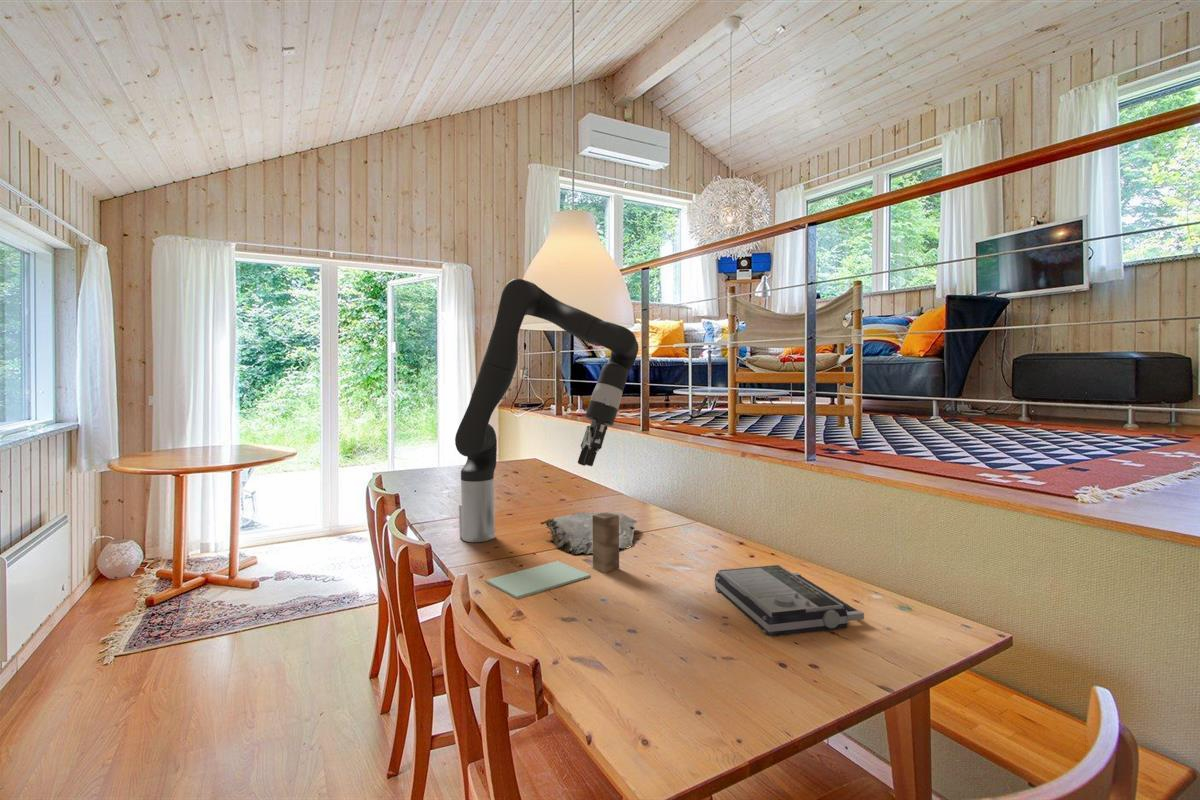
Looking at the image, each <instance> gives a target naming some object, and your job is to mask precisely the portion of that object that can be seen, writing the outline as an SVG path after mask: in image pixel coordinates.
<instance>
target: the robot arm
mask: <svg viewBox="0 0 1200 800" xmlns="http://www.w3.org/2000/svg"><path fill="white" fill-rule="evenodd" d="M500 295H501V296H500V299H499V305H498V309H497V313H496V318H495V323H494V327H493V330H492V333H491V335H490V339H489V341H488V345H487V348H486V351H485V354H484V357H483V358H482V359H483V360H482V363H481V366H480V369H479V371H478V375H477V379H476V382H475V384H474V387H473V390H472V393H471V396H470V399H469V400H470V401H469V403H468V405H467V408H466V410H465V413H464V415H463V417H462V419H461V421H460V424H459V426H458V429H457V430H456V434H455V439H454V441H455V442H454V444H455V447H456V450H457V451H458V453H459V454H460V455H461V456H463V457H466V462H465V464H464V466H463V468H461V469H460V491H461V493H460V494H461V498H460V499H461V500H460V502H461V503H460V504H459V506H458V513H459V515H458V519H459V521H458V522H459V523H458V524H459V526H458V527H459V539H462V540H463V541H464V542H468V543H481V542H488V541H492V540H493V539H495V538H496V532H495V531H496V530H495V529H496V528H495V527H496V525H495V524H496V523H495V522H496V521H495V520H496V519H495V480H494V479H495V470H496V467H497V450H498V449H497V446H498V445H497V444H498V443H497V442H498V441H497V439H498V438H497V435H496V431H495V429H494V427H493V426H492V425H491V424H490V419H491V417H492V415H493V412H494V411H495V409H496V407H497V406H498V405H499V403H500V402H501V400H502V399H503V398H504V396H505V394H506V393H507V392H508V389H509V387H510V386H511V384H512V381H513V378H514V375H515V373H516V369H517V364H518V360H519V359H518V357H519V353H518V352H519V350H518V349H519V347H518V345H519V344H518V339H519V333H520V329H521V326H522V323H523V321H524V318H525V316H532V317H535V318H539V319H543V320H545V321H548V322H550V323H552V324H553V325H555V326H558V327H559V328H560V329H562V330H564V331H565V332H567V333H568V334H569V335H571V336H573V337H575V338H577V339H579V340H582V341H584V342H586V343H587V344H590V345H593V346H601V347H603V348H605V349H608V350H609V351H610V356H609V358H608V359H607V363H606V364H604V365H603V366H602V368H601V370H600V372H599V375H598V376H599V377H598V379H597V382H596V385H595V387H594V388H593V391H592V393H591V397H590V400H589V404H588V406H587V409H586V411H585V415H584V416H585V418H586V419H587V420H589V421H591V422H590V423H591V424H590V425H587V426H586V429H585V431H584V435H583V439H582V440H581V443H580V449H581V450H580V453H579V456H578V460H577V464H578V465H581V466H584V467H585V466H589V467H592V466H594V463H595V460H596V457H597V455H598V452H599V451H600V450H601V449H602V447H603V443H604V440H605V436H606V433H607V430H608V427H612V426H614V424H615V421H616V418H617V414H618V411H619V409H620V405H621V401H622V398H623V392H624V389H625V386H626V382H627V380H628V376H629V374H630V372H631V370H632V368H633V366H634V363H635V362H636V359H637V357H638V352H639V342H638V341H637V338H636V336H635V334H634V332H632V331H631V330H630V329H629V328H627V327H625V326H622V325H620V324H618V323H617V324H616V323H613V322H609V321H605V320H604V319H601V318H599V317H597V316H595V315H593V314H590V313H588V312H587V311H583V310H581V309H579V308H576V307H574V306H572V305H570V304H567V303H564V302H562V301H561V300H558V299H557V298H555V297H553V296H552V295H551V294H548V293H547V292H546V291H545V290H543V289H542V288H540V287H539V286H538V285H536V284H535V283H533V282H531V281H528V280H527V279H523V278H513V279H511V280H509V281H508V282H507V283H506V284H505V286H504V287H503V289H502V292H501V294H500Z"/></svg>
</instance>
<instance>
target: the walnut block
mask: <svg viewBox="0 0 1200 800" xmlns="http://www.w3.org/2000/svg"><path fill="white" fill-rule="evenodd" d="M612 513H613V512H612ZM612 513H608V511H605V513H600V514H595V515H593V553H592V569H594V568H595V570H596V569H598V570H597V571H599V570H600V572H602V571H603V572H602V573H604V572H606V573H609V572H608V571H610V572H612V570H613V571H616V570H619V569H620V548H619V515H616V514H612ZM618 568H619V569H618ZM615 569H616V570H615Z"/></svg>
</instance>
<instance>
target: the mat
mask: <svg viewBox="0 0 1200 800" xmlns="http://www.w3.org/2000/svg"><path fill="white" fill-rule="evenodd" d="M584 578H585V579H588V578H591V574H589V573H587V572H585V571H583V570H581V569H578V568H575V567H573V566H570V565H568V564H566V563H563V562H561V561H560V560H559V561H558V560H557V561H553V562H549V563H545V564H541V565H537V566H534V567H531V568H526V569H523V570H519V571H516V572H511V573H507V574H503V575H500V576H495V577H492V578H488V579H486V580H485V582H486V583H487V584H489V585H490V586H493V587H494V588H495V589H498V590H500V591H502V592H504V593H505V594H507V595H509V596H511V597H513V598H515V599H516V600H518V599H520V598H524V597H527V596H530V595H534V594H538V593H540V592H545V591H547V590H551V589H554V588H557V587H561V586H564V585H568V584H571V583H574V582H575V583H576V582H578V581H581V580H584Z"/></svg>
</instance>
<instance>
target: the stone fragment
mask: <svg viewBox="0 0 1200 800" xmlns="http://www.w3.org/2000/svg"><path fill="white" fill-rule="evenodd" d="M605 512H606V511H605ZM605 512H604V511H588V512H576V513H573V514H570V515H569V514H568V515H562V516H561V515H560V516H557V517H555V518H551V519H550V518H549V519H547V520H545V521H541V522H540V524H541V525H545V526H547V527H546V528H548V530H550V532H551V533H550V535H551V538H553V539H552V540H553V543H554V544H555V547H556V548H560V549H563V550H564V552H565V553H567V554H568V553H570V555H571V556H574V555H575V554H576V555H577V554H581V553H584V554H585V555H588V554H593V515H595V514H600V513H605ZM607 512H608V511H607ZM608 513H612V514H616V515H619V549H622V550H626V549H625V548H627V547H629V546H632V547H634V546H633V545H634V544H633V539H634V533H635V531H637V528H636V525H637V523H638V522H637V520H636V519H634V518H632V517H630V516H627V515H626V514H623V513H619V512H608ZM627 549H628V548H627Z"/></svg>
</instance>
